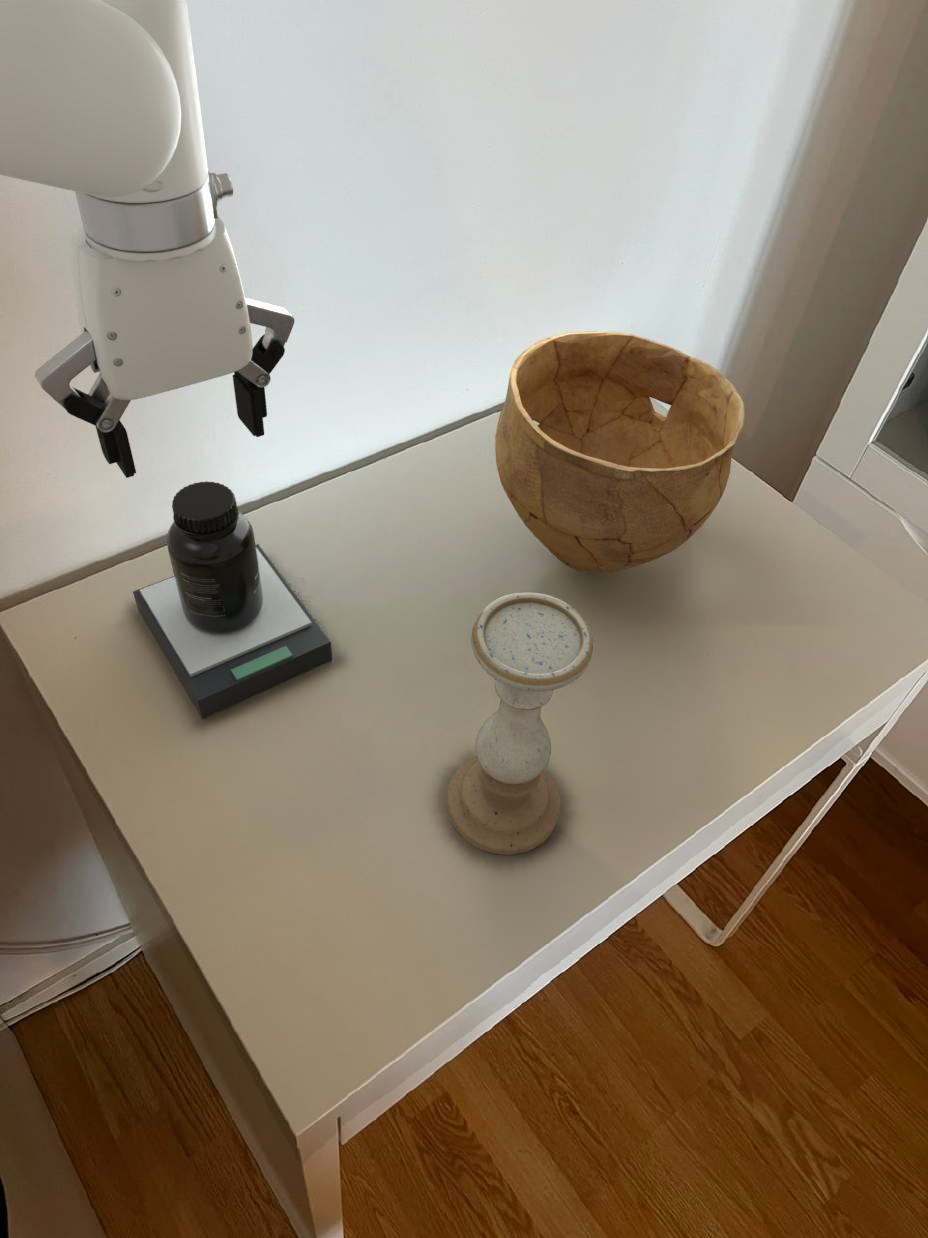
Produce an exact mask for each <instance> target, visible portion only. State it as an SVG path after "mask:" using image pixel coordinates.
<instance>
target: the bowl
mask: <svg viewBox="0 0 928 1238" xmlns="http://www.w3.org/2000/svg"><path fill="white" fill-rule="evenodd" d="M737 390H738V389H736V387H735V386H734V384H732V382H731V381H730V380H729V379H728V378H727V377H726V376H724V375H723V374H722V373H721V372H720V371H719V370H718V369H716V368H715V367H714V366H713V365H711V364H709V363H708V362H705V361H703V360H702V359H699V358H697V357H696V358H695V357H693V356H690V355H688V354H686V353H684V352H683V351H680V350H678V349H675V348H674V347H672V346H669V345H667V344H664V343H661V342H658V341H655V340H653V339H649V338H645V337H642V336H639V335H635V334H631V333H625V332H619V331H618V332H617V331H596V330H593V331H591V330H589V331H571V332H569V331H568V332H564V333H560V334H557V335H553V336H549V337H546V338H544V339H540V340H538V341H537V342H535V343H534V344H531V346H529V347H528V348H526V349H525V350H523V351H522V352H521V354H519V356H518V357H517V358H516V359H515V360H514V362H513V364H512V367H511V370H510V373H509V377H508V384H507V389H506V394H505V399H504V400H505V401H504V404H503V407H502V408H501V411H500V414H499V416H498V420H497V425H496V431H495V435H494V436H495V437H494V451H495V453H494V454H495V464H496V469H497V473H498V477H499V480H500V483H501V486H502V488H503V491H504V493H505V494H506V496H507V498H508V500H509V501H510V503H511V505H512V507H513V508H514V510H515V512H516V514H517V515H518V517H519V519H520V520H521V521H522V523H523V524H524V525H525V527H526V528H527V529H528V530H529V532H531V533H532V534H533V536H534V537H535V538H536V539H537V540H538V541H539V542H540V543H541V544H542V545H543V546H544V547H545V548H546V549H547V550H548V551H549V552H550V553H551V555H553V556H554V558H556V559H557V560H558V561H560V563H562V564H564V565H565V566H567V567H569V568H571V569H573V570H575V571H577V572H581V573H585V574H595V575H603V574H612V573H616V572H619V571H624V570H627V569H630V568H634V567H637V566H640V565H643V564H647V563H651V562H652V561H656V560H658V559H660V558H663V556H665V555H668V554H670V553H672V552H674V551H676V550H677V549H678V548H679V547H681V546H682V545H684V543H686V542H687V541H688V540H689V539H691V538H692V537H693V536H694V535H695V534H696V533H697V532H698V530H699V529H700V528H701V527H702V526H703V525H704V524H705V523H706V521H707V520H708V519H709V517H711V515H712V513H713V512H714V510H715V509H716V507H717V506H718V505H719V502H720V501H721V499H722V497H723V495H724V493H725V490H726V488H727V486H728V485H727V484H728V481H729V478H730V474H731V467H732V459H733V455H734V452H735V449H736V446H737V443H738V438H739V435H740V432H741V431H742V428H743V427H744V421H745V404H744V401H743V399H742V397H741V395H740V394H739V393H738V391H737ZM652 399H653V400H656V401H659V402H661V403H663V404H666V405H669V409H668V411H667V414H666V416H664V415H663V414H660V413H659V412H656V410H655V408H654V405H653V403H652ZM535 422H536V423H538V424H536V423H535Z"/></svg>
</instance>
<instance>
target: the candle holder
mask: <svg viewBox="0 0 928 1238" xmlns="http://www.w3.org/2000/svg"><path fill="white" fill-rule="evenodd" d="M470 636H471V637H470V643H471V644H470V645H471V649H472V652H473V656H474V657H475V659H476V661H477V664H479V665H480V667H481V668H482V670H483V671H485V672H486V673H487V675H489V676H490V677H491V678H493V679H494V680H495V681H494V690H495V692H496V695H497V696H498V698H499V699H500V702H499V706H498V709H497V710H496V711H495V712H493V713H492V714H491V715H490V716H489V717H488V718H487V719H486V720H485V721H484V722H483V724H482V725H481V726H480V728H479V731H478V732H477V735H476V738H475V748H474V749H475V756H473V757H470V758H469V759H467V760H466V761H465V762H464V763H462V764H461V765H460V766H459V767H458V769H457V770H456V771H455V772H454V774H453V775H452V777H451V780H450V782H449V785H448V788H447V796H446V806H447V811H448V816H449V819H450V821H451V823H452V825H453V827H454V828H455V830H456V831H457V832H458V834H459V835H460V836H461V837H462V838H463V839H464V840H465V841H467V842H468V843H469V844H471V845H473V846H474V847H476V848H478V849H480V850H482V851H485V852H487V853H491V854H497V855H517V854H523V853H525V852H528V851H531V850H533V849H535V848H537V847H539V846H540V845H541V844H542V843H544V842H545V841H546V840H547V839H548V838H549V836H551V835H552V833H553V831H554V830H555V828H556V825H557V823H558V821H559V818H560V813H561V795H560V791H559V788H558V786H557V783H556V781H555V780H554V778H553V776H552V775H551V774H550V772H549V771H548V770H547V769H546V767H547V766H548V764H549V762H550V759H551V755H552V742H551V737H550V734H549V731H548V729H547V726H546V724H545V723H544V721H543V720H542V718H541V713H542V707H543V706H545V705H547V703H549V701H550V700H551V698H552V697H553V693H554V691H555V690H558V689H562V688H564V687H567V686H568V685H570V684H572V683H573V682H575V681H576V680H578V679H579V678H580V677H581V676H582V675H583V674H584V673H585V672H586V670H587V669H588V667H589V666H590V663H591V661H592V658H593V654H594V638H593V633H592V630H591V628H590V626H589V624H588V621H586V619H585V617H584V616H583V615H582V614H581V613H580V612H579V611H578V610H577V609H576V608H574V606H572V605H571V604H569V603H567V602H566V601H564V600H562V599H560V598H558V597H555V596H553V595H550V594H546V593H542V592H534V591H520V592H514V593H509V594H506V595H503V596H501V597H498V598H496V599H494V600H492V601H491V602H490V603H488V604H487V605H486V606H485V607H484V608H483V609H482V610H481V611H480V612H479V613H478V615H477V617H476V618H475V620H474V622H473V625H472V628H471V635H470Z"/></svg>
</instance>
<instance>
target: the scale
mask: <svg viewBox="0 0 928 1238" xmlns="http://www.w3.org/2000/svg"><path fill="white" fill-rule="evenodd" d="M255 545H256V552H257V559H258V566H259V573H260V580H261V587H262V595H263V604H262V608H261V611H260V613H259V614H258V616H257V617H256V618H255V619H254V620H253V621H252V622H251V623H250V624H249V625H247V626H245V627H244V628H242V629H239V630H237V631H233V632H229V633H209V632H205V631H202V630H200V629H198V628H196V627H195V626H193V625H192V624H191V623H190V622H189V621H188V620H187V619H186V617H185V615H184V612H183V609H182V605H181V602H180V597H179V593H178V589H177V585H176V581H175V576H174V575H172V576H169V577H167V578H165V579H162V580H160V581H157V582H155V583H152V584H150V585H147V586H144V587H141V588H139V589H136V590H134V591H132V595H133V597H134V601H135V604H136V608H137V611H138V612H139V614H140V616H141V618H142V619H143V621H144V623H145V624H146V626H147V628H148V631H150V633H151V634H152V635H151V636H153V638H154V640H155V642H156V643H157V645H158V647H159V649H160V650H161V652H162V653H163V655H164V657H165V658H166V660H167V662H168V663H169V665H170V668H171V669H172V671H173V672H174V673H175V675H176V677H177V679H178V680H179V682H180V684H181V686H182V688H183V689H184V691H185V692H186V694H187V696H188V697H189V699H190V701H191V702H192V704H193V706H194V707H195V710H196V711H197V713H198V714H199V716H200V718H201V719H202V720H203V719H206V718H208V717H210V716H212V715H215V714H217V713H220V712H221V711H223V710H226V709H228V708H229V707H230V708H231V707H232V706H235V705H237V704H239V703H241V702H244V701H246V700H248V699H251V698H252V697H254V696H257V695H259V694H261V693H263V692H266V691H268V690H269V689H272V688H274V687H276V686H279V685H281V684H284V683H286V682H288V681H289V680H292V679H294V678H297V677H299V676H301V675H304V674H305V673H308V672H310V671H312V670H314V669H316V668H319V667H320V666H323V665H325V664H328V663H330V662H332V661H333V655H332V641H331V640H330V639H329V638H328V636H327V635H326V633H325V632H324V631H323V630H322V629H323V628H321V627H320V625H319V624H318V622H317V621H316V620H315V619H314V617H313V616H312V614H311V613H310V612H309V610H308V609H307V608H306V606H305V605H304V604H303V602H302V601H301V600H300V598H299V597H298V595H297V594H296V593H295V592H294V590H293V589H292V587H291V586H290V585H289V583H288V582H287V581H286V579H285V578H284V577H283V575H282V574H281V572H280V571H279V570H278V568H277V567H276V565H274V563H273V562H272V560H271V558H269V557H268V555H267V553H266V552H265V551H264V550H263V548H262V547H261V545H260V544H259V543H257V544H255Z"/></svg>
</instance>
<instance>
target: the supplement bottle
mask: <svg viewBox="0 0 928 1238" xmlns="http://www.w3.org/2000/svg"><path fill="white" fill-rule="evenodd" d="M171 503H172V505H171V508H172V513H173V517H172V518H173V522H172V523H171V525H170V527H169V529H168V531H167V535H166V545H167V551H168V554H169V559H170V563H171V568H172V571H173V576H175V581H176V585H177V589H178V593H179V597H180V602H181V605H182V609H183V612H184V615H185V617H186V619H187V620H188V621H189V622H190V623H191V624H192V625H193V626H195V627H196V628H198V629H200V630H202V631H205V632H209V633H229V632H233V631H237V630H239V629H242V628H244V627H245V626H247V625H249V624H250V623H251V622H252V621H253V620H254V619H255V618H256V617H257V616H258V614H259V613H260V611H261V608H262V604H263V595H262V587H261V580H260V573H259V566H258V559H257V552H256V545H257V544H256V539H255V532H254V529H253V526H252V524H251V522H250V520H249V519H248V518H247V517H246V516H245V515H244V514H243V513H242V512H240V511H239V508H238V505H237V500H236V497H235V493H234V492H233V490H232V489H230V488H229V486H227V485H224V483H223V484H222V483H219V482H215V481H208V480H207V481H199V482H194V483H190V484H188V485H187V486H183V488H181V489H179V491H177V492H176V493H175V495H174V496H173V499H172V502H171Z"/></svg>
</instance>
